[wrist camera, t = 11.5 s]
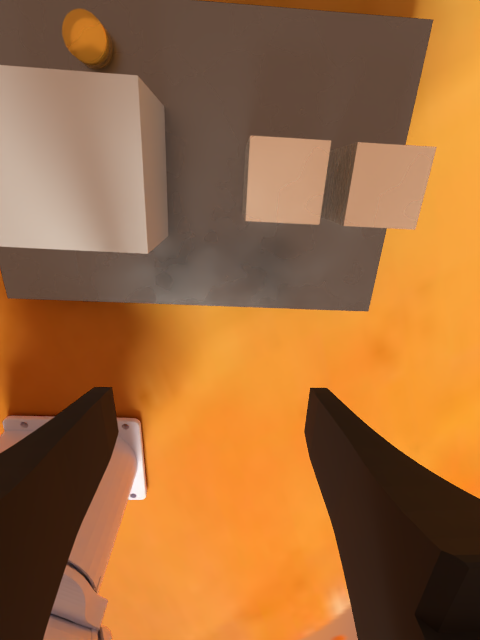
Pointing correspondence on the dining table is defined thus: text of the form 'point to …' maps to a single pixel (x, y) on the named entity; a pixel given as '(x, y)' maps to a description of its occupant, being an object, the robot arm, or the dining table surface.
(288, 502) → the dining table surface
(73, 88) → the cap
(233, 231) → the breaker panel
